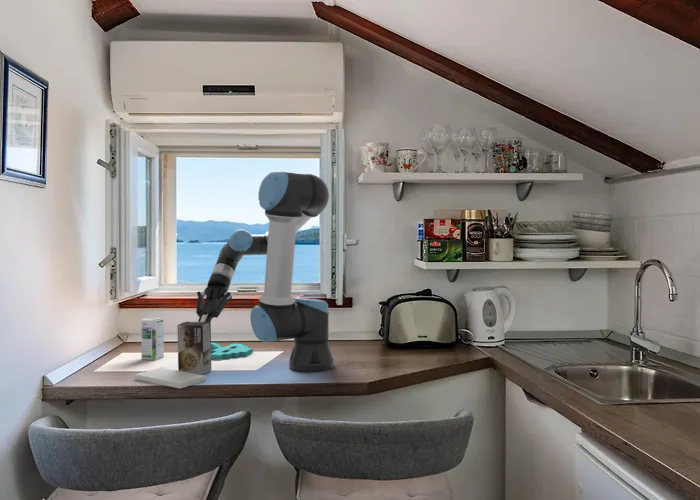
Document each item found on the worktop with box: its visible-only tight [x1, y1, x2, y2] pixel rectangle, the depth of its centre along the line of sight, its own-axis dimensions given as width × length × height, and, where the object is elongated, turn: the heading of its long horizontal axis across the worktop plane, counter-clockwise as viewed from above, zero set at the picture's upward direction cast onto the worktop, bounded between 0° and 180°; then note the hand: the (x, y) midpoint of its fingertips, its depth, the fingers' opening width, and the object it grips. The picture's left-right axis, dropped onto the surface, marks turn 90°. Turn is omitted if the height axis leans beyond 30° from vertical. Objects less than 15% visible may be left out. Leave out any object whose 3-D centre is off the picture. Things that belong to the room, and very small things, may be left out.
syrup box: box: [140, 317, 165, 361], centre depth 196 cm, size 6×6×14 cm
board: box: [134, 367, 207, 389], centre depth 167 cm, size 20×10×2 cm, turn 59°
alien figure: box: [211, 342, 254, 361], centre depth 204 cm, size 20×2×20 cm
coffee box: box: [176, 321, 212, 375], centre depth 176 cm, size 9×6×16 cm
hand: (200, 332), depth 181 cm, fingers closed
